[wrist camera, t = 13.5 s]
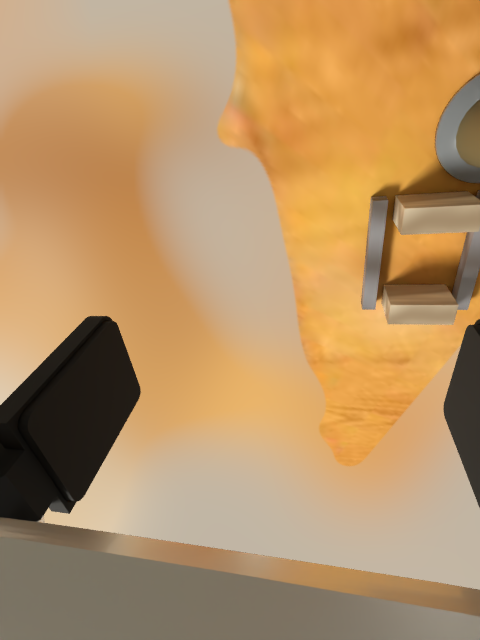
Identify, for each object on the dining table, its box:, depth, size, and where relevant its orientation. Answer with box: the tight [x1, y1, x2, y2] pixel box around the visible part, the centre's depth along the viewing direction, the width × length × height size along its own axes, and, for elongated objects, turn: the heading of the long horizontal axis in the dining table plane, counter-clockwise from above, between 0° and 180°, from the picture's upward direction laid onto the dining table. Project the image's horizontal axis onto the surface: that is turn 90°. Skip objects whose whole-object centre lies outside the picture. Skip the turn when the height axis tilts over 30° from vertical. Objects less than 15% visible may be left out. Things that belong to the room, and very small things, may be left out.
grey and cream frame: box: [361, 190, 480, 325], centre depth 35 cm, size 12×11×4 cm
